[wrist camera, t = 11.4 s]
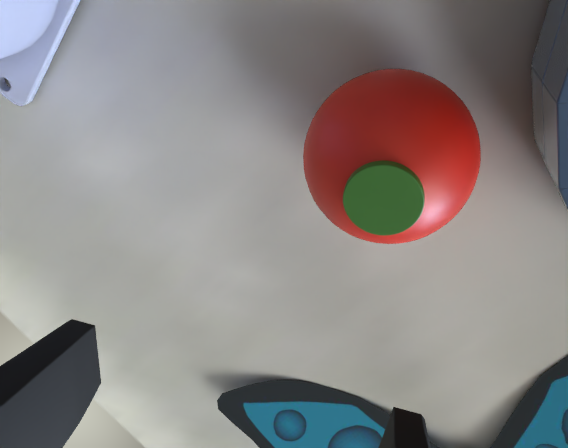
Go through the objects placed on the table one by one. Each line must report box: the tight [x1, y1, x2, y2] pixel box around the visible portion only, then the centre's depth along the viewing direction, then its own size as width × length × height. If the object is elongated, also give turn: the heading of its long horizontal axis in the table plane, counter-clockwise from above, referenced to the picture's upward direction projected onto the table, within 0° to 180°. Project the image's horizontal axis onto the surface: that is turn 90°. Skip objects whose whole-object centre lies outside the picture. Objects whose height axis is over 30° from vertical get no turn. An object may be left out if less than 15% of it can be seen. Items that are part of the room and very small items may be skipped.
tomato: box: [303, 69, 480, 244], centre depth 15 cm, size 5×5×5 cm
